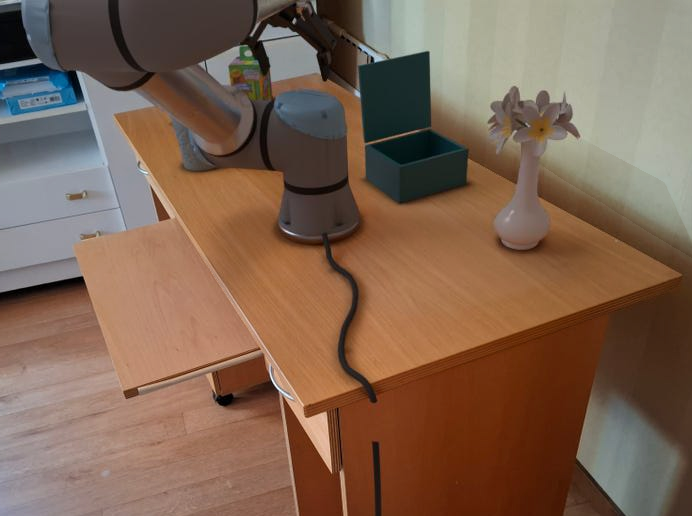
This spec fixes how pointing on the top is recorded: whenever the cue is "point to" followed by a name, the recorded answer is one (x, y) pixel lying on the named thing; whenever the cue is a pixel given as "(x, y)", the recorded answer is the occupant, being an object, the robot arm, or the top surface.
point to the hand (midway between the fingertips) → (296, 73)
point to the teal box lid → (395, 96)
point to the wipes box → (416, 165)
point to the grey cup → (188, 149)
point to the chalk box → (250, 77)
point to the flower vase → (527, 161)
